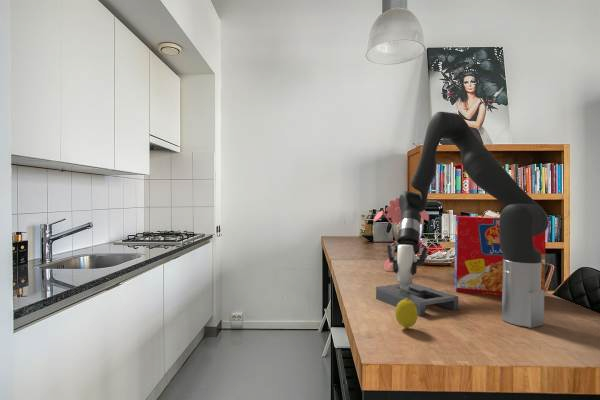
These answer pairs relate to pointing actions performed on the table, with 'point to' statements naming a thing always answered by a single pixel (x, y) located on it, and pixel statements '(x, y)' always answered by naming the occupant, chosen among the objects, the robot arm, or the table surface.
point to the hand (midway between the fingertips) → (404, 272)
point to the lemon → (406, 313)
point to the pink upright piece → (395, 220)
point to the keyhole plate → (416, 296)
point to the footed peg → (404, 266)
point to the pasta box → (483, 256)
